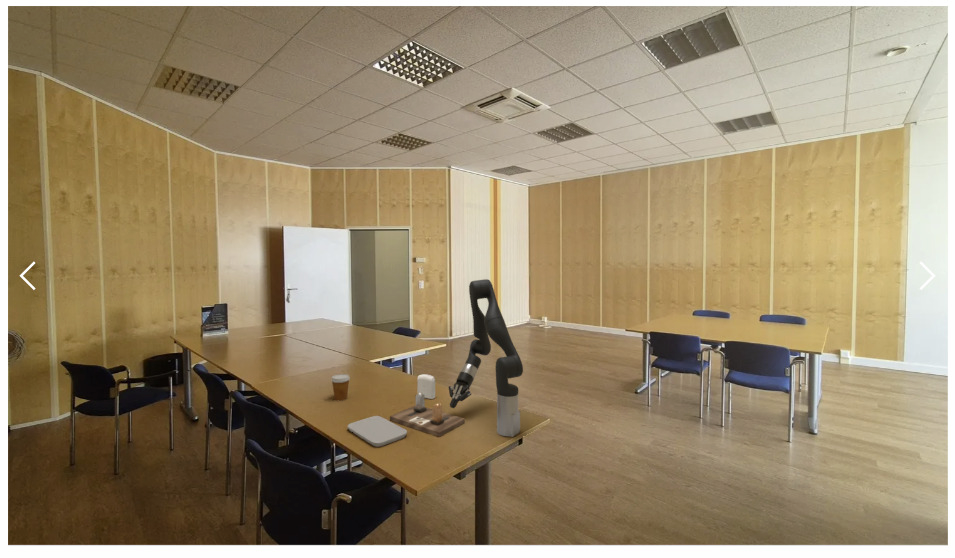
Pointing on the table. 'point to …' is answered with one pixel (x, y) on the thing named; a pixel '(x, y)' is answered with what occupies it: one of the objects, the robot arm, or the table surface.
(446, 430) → the switch board
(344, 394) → the disposable coffee cup
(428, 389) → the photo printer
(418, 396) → the grey switch
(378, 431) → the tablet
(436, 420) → the copper switch
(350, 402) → the table surface
